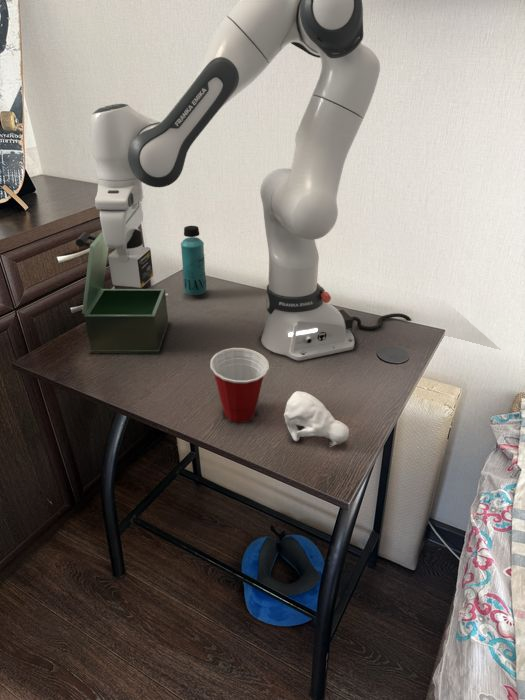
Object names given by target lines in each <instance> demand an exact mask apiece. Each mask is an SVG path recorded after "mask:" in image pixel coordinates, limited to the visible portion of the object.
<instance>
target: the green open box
mask: <svg viewBox="0 0 525 700" xmlns="http://www.w3.org/2000/svg"><path fill="white" fill-rule="evenodd" d="M84 321H85V327H86V331H87V336H88V341H89V345H90V350H91V354H160V351H161V348H162V346H163V342H164V339H165V335H166V333H167V329H168V327H169V316H168V305H167V296H166V289H165V288H103V289H102V290H101V292H100V293H99V295H98V296H97V298H96V299H95V301H94V302H93V304H92V305H91V307H90V309H89V310H88V312H87V313H86V314H84Z"/></svg>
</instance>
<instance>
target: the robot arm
mask: <svg viewBox="0 0 525 700" xmlns="http://www.w3.org/2000/svg"><path fill="white" fill-rule="evenodd" d="M363 39H364V6H363V0H238V1H237V2H236V3H235V4H234V5H233V7H231V9H230V10H229V11H228V13H227V14H226V16H225V17H224V18H223V19H222V20H221V22H220V23H219V25H218V26H217V28H216V29H215V31H214V32H213V34H212V36H211V38H210V39H209V41H208V43H207V45H206V47H205V49H204V52H203V54H202V57H201V61H200V65H199V67H198V69H197V73H196V74H195V77H194V79H193V81H192V82H191V84H190V85H189V87H188V88H187V90H186V91H185V92H184V94H183V95H182V96H181V97H180V98H179V100H178V101H177V102H176V104H175V105H174V106H173V108H171V110H170V111H169V113H168V114H167V116H165V117H164V119H163V120H162V121H159V120H156V119H153V118H151V117H148V116H146V115H144V114H142V113H140V112H138V111H137V110H135V109H133V108H132V106H130V105H129V104H126V103H115V104H110V105H106V106H102V107H99V108H98V109H95V111H94V112H93V113H92V115H91V116H90V122H89V123H90V125H89V126H90V128H89V129H90V139H91V149H92V155H93V157H94V160H95V163H96V180H97V181H96V182H97V192H96V196H95V199H94V205H95V209H96V210H99V220H100V225H101V232H102V231H103V235H104V240H105V243H106V245H107V246H108V247H109V249H115V248H116V251H117V253H118V255H119V260H120V262H128V260H129V252H127V248H126V247H127V243H128V241H129V240H130V238H131V237H132V234H133V232H134V230H135V229H139V227H140V226H141V224H142V222H143V220H144V212H143V205H142V200H143V199H144V191H143V184H144V185H146V186H149V187H152V188H164V187H168V186H170V185H172V184H173V183H175V182H176V181H178V179H179V178H180V176H181V174H182V172H183V170H184V166H185V162H186V158H187V155H188V152H189V150H190V148H191V147H192V146H193V144H194V142H195V141H196V140H197V138H198V137H199V136H200V135H201V134H202V132H203V131H204V130H205V129H206V127H207V126H208V124H209V123H210V122H211V121H212V120H213V119H214V117H215V116H216V114H218V112H219V111H220V110H221V109H222V108H223V107H224V106H225V105H226V104H228V103H229V102H230V101H231V100H232V99H233V98H235V97H236V96H238V95H239V94H240V93H241V92H243V91H244V90H245V89H246V88H247V87H249V86H250V85H251V84H252V83H253V82H254V81H255V80H257V78H258V77H260V75H262V73H263V72H264V71H265V70H266V69H267V67H269V65H270V64H271V63H272V62H273V60H274V59H275V58H276V56H278V55H279V53H280V52H281V51H282V50H283V49H285V47H286V46H288V45H290V44H291V45H293V46H294V47H297V48H298V49H300V50H301V51H303V52H305V53H306V54H308V55H310V56H311V57H315V58H318V59H320V61H321V70H320V73H319V77H318V80H317V82H316V85H315V87H314V90H313V92H312V94H311V97H310V99H309V100H308V101H309V102H308V104H307V106H306V108H305V111H304V114H303V116H302V118H301V120H300V123H299V126H298V127H297V129H296V132H295V137H294V138H295V139H294V143H295V146H294V154H293V158H292V164H291V168H286V167H285V168H277V169H274V170H272V171H270V172H269V173H268V174H266V176H264V178H263V180H262V182H261V184H260V189H259V193H260V194H259V195H260V199H261V204H262V209H263V218H264V228H265V237H266V242H267V251H268V284H267V285H266V293H265V308H266V310H267V311H266V318H265V323H264V328H263V332H262V335H261V338H260V342H261V344H262V345H263V346H264V348H265V349H266V350H268V351H271V352H273V353H275V354H278V355H281V356H282V355H283V356H286V357H288V358H290V359H292V360H294V361H297V362H298V361H301V362H302V361H305V360H310V359H315V358H319V357H325V356H328V355H333V354H337V353H343V352H347V351H352V350H353V349H354V348H355V337H354V335H353V332H352V331H351V329H353V327H354V322H356V325H357V328H359V329H360V330H364V331H375V330H379V329H380V328H382V327H383V321H385V320H387V319H391V318H403V319H405V320H406V321H407V322H411V321H412V319H411V317H410V316H408V315H407V314H405V313H401V312H400V313H399V312H397V313H396V312H395V313H394V312H393V313H389V314H385V315H382V316H380V317H378V321H377V322H378V323H377V324H376V325H371V326H369V325H368V326H367V325H363V324H362V320H361V318H360V317H358V316H351V315H350V314H349V313H347V312H346V311H345V310H344V309H339V310H338V308H336V307H335V306H334V305H332V304H331V303H330V301H331V300H332V296H331V295H330V293H329V292H328V291H325V288H324V287H322V286H321V285H320V283H318V276H319V262H320V261H319V260H320V259H319V258H320V256H319V255H320V254H319V250H318V248H317V244H316V240H318V239H321V238H324V237H325V236H327V235H328V234H329V233H330V232H331V231H332V230H333V228H334V227H335V225H336V222H337V221H338V213H339V211H338V202H337V201H338V193H339V187H340V183H341V178H342V174H343V170H344V167H345V162H346V160H347V158H348V154H349V152H350V150H351V148H352V146H353V144H354V141H355V139H356V136H357V134H358V132H359V130H360V128H361V125H362V123H363V121H364V119H365V117H366V114H367V112H368V110H369V107H370V105H371V102H372V99H373V96H374V93H375V90H376V88H377V84H378V80H379V76H380V73H381V63H380V60H379V58H378V56H377V55H376V53H374V51H373V50H372V49H371V48H369V47H368V46H366V45H364V44H363V43H362V41H363Z"/></svg>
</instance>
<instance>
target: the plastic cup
mask: <svg viewBox="0 0 525 700" xmlns="http://www.w3.org/2000/svg"><path fill="white" fill-rule="evenodd" d="M269 369H270V366H269V360H268V359H267V358H266V357H265V355H263V354H261V353H260V352H258V351H256V350H254V349H250V348H247V347H246V348H245V347H231V348H226V349H222V350H220V351H218V352H216V353H215V354H214V355H213V356H212V358H211V359H210V370H211V371H212V373H213V376H214V379H215V381H216V386H217V390H218V391H217V392H218V394H219V398H220V403H221V405H222V410H223V414H224V415H225V417H226V418H227V420H229V421H231V422H233V423H245V422H249V421H250V420H251V419H253V417H254V415H255V413H256V409H257V404H258V401H259V396H260V394H261V393H260V392H261V388H262V383H263V380H264V377H265V376H266V375H267V373H268V371H269Z"/></svg>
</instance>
